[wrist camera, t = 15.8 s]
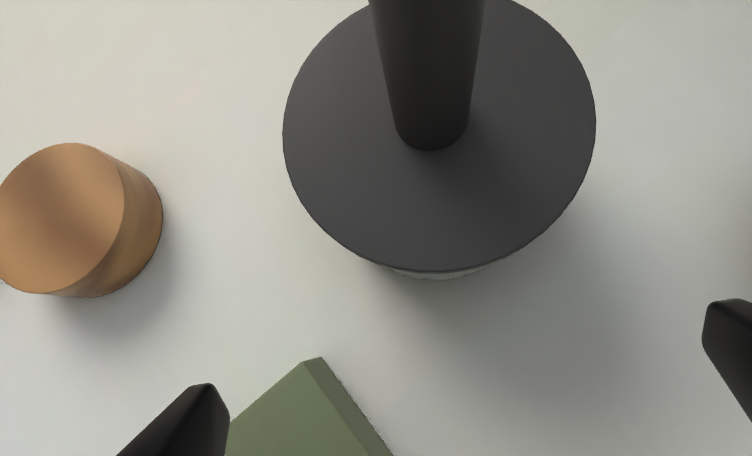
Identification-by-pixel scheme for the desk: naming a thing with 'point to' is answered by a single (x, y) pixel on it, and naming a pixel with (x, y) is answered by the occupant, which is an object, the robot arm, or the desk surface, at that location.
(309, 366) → the control panel
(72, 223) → the stand
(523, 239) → the lid
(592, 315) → the desk surface
